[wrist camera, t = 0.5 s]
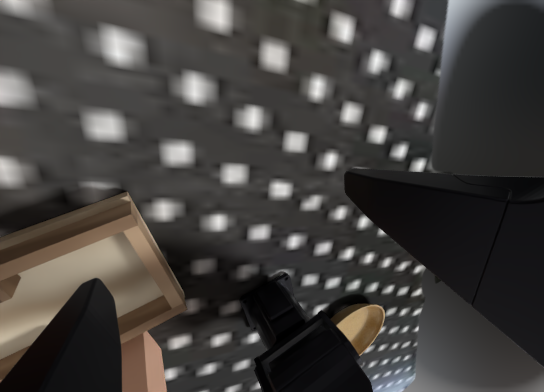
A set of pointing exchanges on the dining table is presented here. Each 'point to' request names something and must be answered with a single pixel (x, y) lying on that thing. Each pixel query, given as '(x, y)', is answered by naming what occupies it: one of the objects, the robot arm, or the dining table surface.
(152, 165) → the dining table surface
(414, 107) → the dining table surface
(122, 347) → the peg
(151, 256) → the beige shallow tray
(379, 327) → the plant saucer
